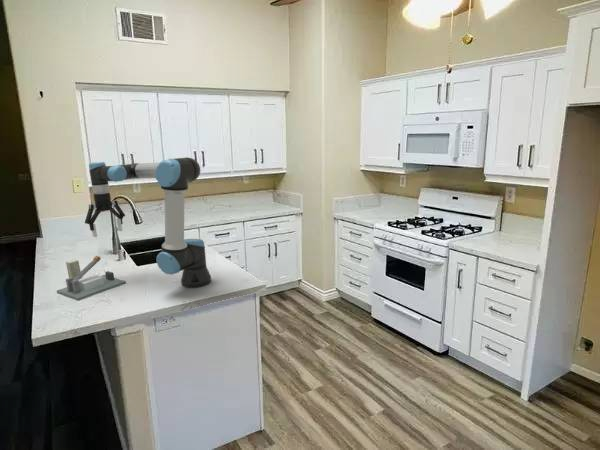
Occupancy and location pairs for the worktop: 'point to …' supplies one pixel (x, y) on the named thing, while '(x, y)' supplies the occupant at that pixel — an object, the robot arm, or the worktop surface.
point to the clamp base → (93, 291)
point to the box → (73, 268)
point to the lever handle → (87, 268)
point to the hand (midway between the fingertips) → (108, 233)
